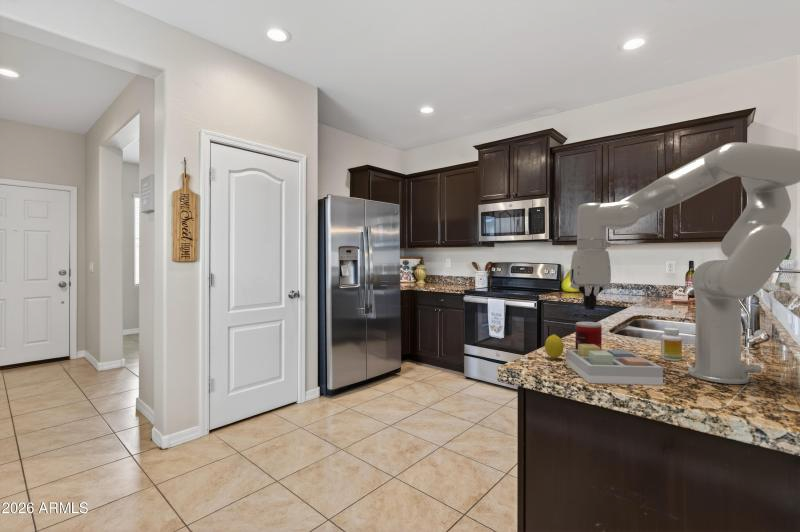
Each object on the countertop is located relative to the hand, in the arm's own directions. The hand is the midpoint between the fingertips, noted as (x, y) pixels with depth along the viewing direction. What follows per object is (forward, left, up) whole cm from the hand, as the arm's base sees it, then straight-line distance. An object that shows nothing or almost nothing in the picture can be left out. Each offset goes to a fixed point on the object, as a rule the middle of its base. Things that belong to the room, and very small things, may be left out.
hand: (589, 309), depth 111 cm
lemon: (+7, -11, -18) cm, 22 cm away
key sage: (0, +8, -14) cm, 16 cm away
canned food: (-5, -15, -18) cm, 24 cm away
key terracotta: (-8, +8, -15) cm, 19 cm away
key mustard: (0, 0, -14) cm, 14 cm away
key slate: (-8, 0, -15) cm, 17 cm away
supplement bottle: (-30, -14, -18) cm, 38 cm away
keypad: (-4, +4, -18) cm, 19 cm away
